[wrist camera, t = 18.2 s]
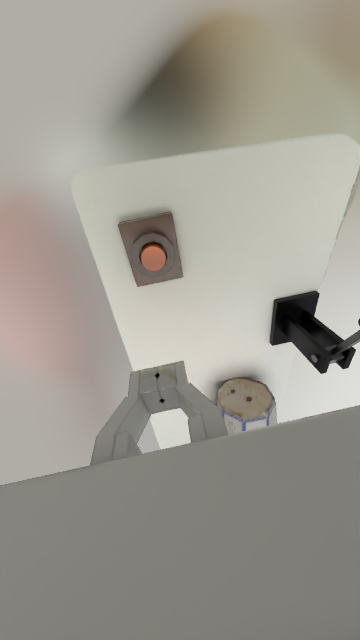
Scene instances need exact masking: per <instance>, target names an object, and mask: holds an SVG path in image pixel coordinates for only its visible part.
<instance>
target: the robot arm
mask: <svg viewBox="0 0 360 640" xmlns="http://www.w3.org/2000/svg"><path fill="white" fill-rule="evenodd" d="M177 408H181V409H182V410H183V411H184V413H185V414H186V415H187V416H188V417H189V419H188V425H189V432H190V439H191V443H189V444H184V445H180V446H175V447H171V448H166V449H162V450H157V451H153V452H148V453H144V454H142V452H141V451H140V449H139V447H138V446H137V443H138V441H139V438H140V436H141V434H142V432H143V430H144V428H145V426H146V424H147V422H148V420H149V418H150V416H151V415H150V414H154V413H158V412H162V411H166V410H172V409H177ZM0 640H360V405H359V406H355V407H350V408H346V409H342V410H337V411H332V412H328V413H323V414H319V415H315V416H310V417H305V418H301V419H297V420H292V421H288V422H283V423H279V424H274V425H269V426H265V427H260V428H256V429H251V430H247V431H243V432H238V433H234V434H228V431H227V428H226V424H225V421H224V418H223V415H222V412H221V409H220V408H218V407H217V406H216V405H215V404H214V403H213V402H212V401H210V400H209V399H208V398H207V397H206V396H205V395H204V394H202V393H201V392H200V391H199V390H198V389H197V388H195V387H194V386H193V385H192V384H191V383H188V379H187V374H186V370H185V366H184V361H179V362H175V363H170V364H166V365H162V366H158V367H153V368H148V369H143V370H138V371H133V372H131V374H130V382H129V391H128V397H125V399H124V400H123V401H122V403H121V404H120V405H119V407H118V408H117V409H116V411H115V412H114V413H113V415H112V416H111V418H110V419H109V420H108V422H107V423H106V424H105V426H104V427H103V428H102V430H101V431H100V433H99V434H98V435H97V436H96V440H95V445H94V449H93V455H92V459H91V463H90V466H86V467H81V468H77V469H73V470H68V471H63V472H59V473H55V474H50V475H45V476H41V477H36V478H32V479H27V480H23V481H19V482H14V483H9V484H5V485H0Z"/></svg>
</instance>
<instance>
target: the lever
mask: <svg viewBox="0 0 360 640" xmlns="http://www.w3.org/2000/svg"><path fill="white" fill-rule="evenodd" d="M358 323H359V325H360V319H359V321H358ZM358 342H360V330H359V331H358V332H356V333H355V334H353V335H352V336H350V337H349V338H347V339H346V340H344V341H343V342H341V343H340V344H339V345H333V346H329V347H325V349H326V350H327V351H329V352H330V353H331V354H332V358H331V360H330V363H329V364H331V363H336V362H337V361H339V360H341V359H343V358H344V356H343V354H342V352H344V351H345V350H347V349H348V348H350V347H352V346H353V345H355V344H357V343H358Z"/></svg>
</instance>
